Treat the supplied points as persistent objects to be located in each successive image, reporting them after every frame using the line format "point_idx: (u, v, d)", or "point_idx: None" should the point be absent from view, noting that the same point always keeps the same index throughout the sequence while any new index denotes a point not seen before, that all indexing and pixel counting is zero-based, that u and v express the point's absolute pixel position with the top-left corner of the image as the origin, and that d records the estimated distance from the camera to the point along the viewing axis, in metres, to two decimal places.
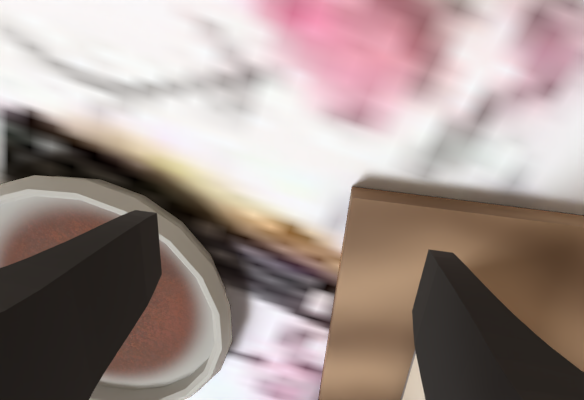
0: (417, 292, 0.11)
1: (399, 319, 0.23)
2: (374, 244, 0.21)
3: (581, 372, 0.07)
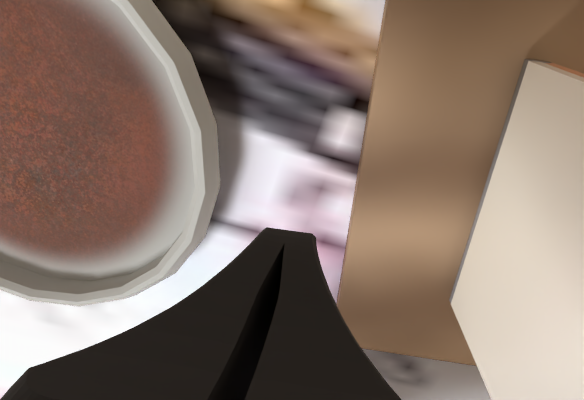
0: None
1: (464, 135, 0.16)
2: None
3: (349, 337, 0.07)
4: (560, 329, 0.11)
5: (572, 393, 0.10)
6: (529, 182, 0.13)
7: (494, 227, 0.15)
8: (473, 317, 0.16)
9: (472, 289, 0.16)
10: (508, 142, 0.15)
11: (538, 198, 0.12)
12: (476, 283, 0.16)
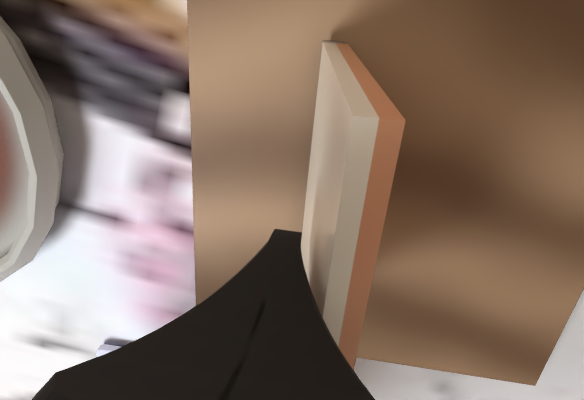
0: None
1: (284, 119, 0.16)
2: None
3: (325, 333, 0.07)
4: None
5: None
6: (315, 164, 0.13)
7: (307, 211, 0.15)
8: None
9: None
10: (314, 125, 0.14)
11: (315, 179, 0.12)
12: None
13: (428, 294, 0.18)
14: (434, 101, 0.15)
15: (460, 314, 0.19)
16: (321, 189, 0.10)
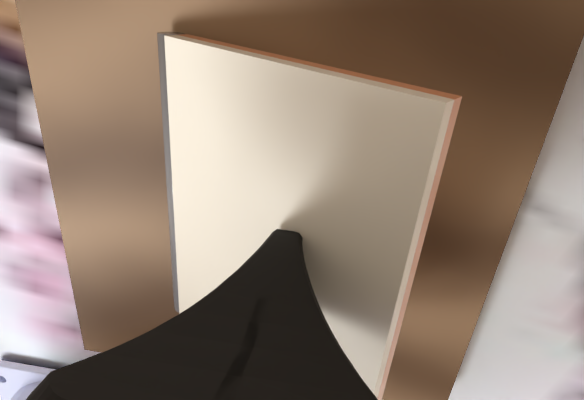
0: None
1: (138, 120, 0.14)
2: None
3: (328, 333, 0.07)
4: (318, 298, 0.11)
5: (351, 347, 0.11)
6: (224, 168, 0.12)
7: (200, 223, 0.14)
8: None
9: (200, 291, 0.15)
10: (177, 130, 0.13)
11: (242, 182, 0.12)
12: (203, 284, 0.15)
13: None
14: None
15: None
16: (297, 185, 0.10)
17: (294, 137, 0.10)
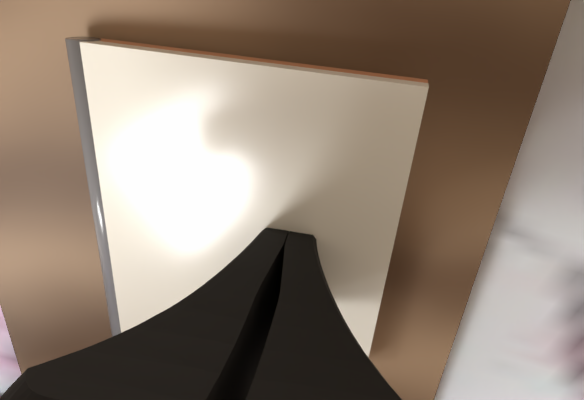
0: None
1: (58, 137, 0.12)
2: None
3: (350, 337, 0.07)
4: None
5: None
6: (179, 181, 0.11)
7: (148, 244, 0.12)
8: None
9: None
10: (108, 148, 0.11)
11: (205, 192, 0.11)
12: (156, 309, 0.13)
13: None
14: None
15: None
16: (276, 183, 0.10)
17: (269, 136, 0.10)
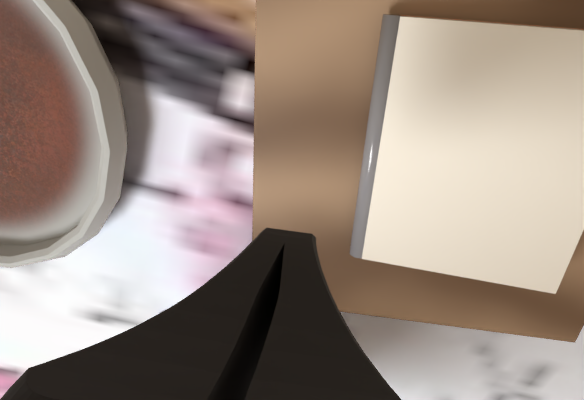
0: None
1: (343, 91, 0.17)
2: None
3: (349, 337, 0.07)
4: (537, 191, 0.16)
5: (562, 217, 0.16)
6: (452, 115, 0.16)
7: (411, 168, 0.17)
8: (412, 246, 0.18)
9: (397, 228, 0.18)
10: (399, 94, 0.16)
11: (472, 123, 0.16)
12: (402, 221, 0.18)
13: None
14: None
15: None
16: (532, 113, 0.15)
17: (536, 78, 0.14)
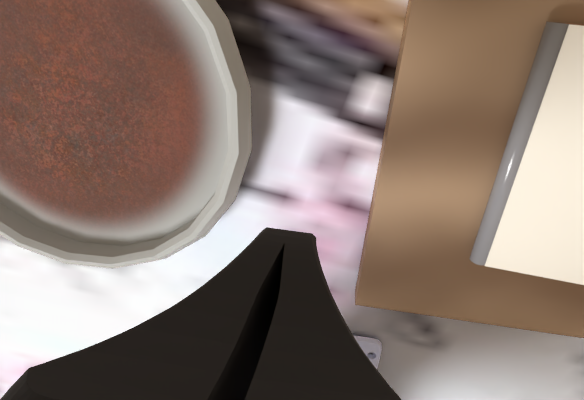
0: None
1: (487, 97, 0.17)
2: None
3: (349, 337, 0.07)
4: None
5: None
6: None
7: (554, 176, 0.17)
8: (541, 254, 0.18)
9: (529, 236, 0.18)
10: (554, 102, 0.16)
11: None
12: (536, 229, 0.18)
13: None
14: None
15: None
16: None
17: None
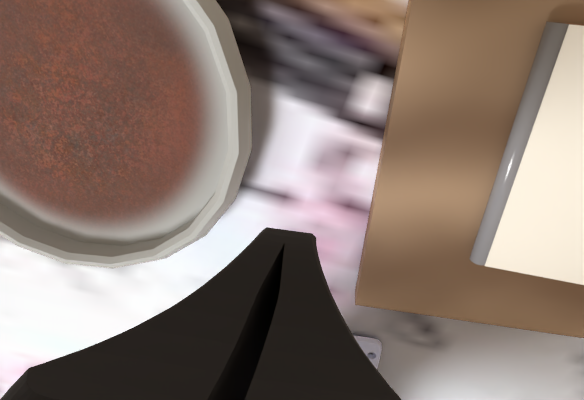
0: None
1: (487, 97, 0.17)
2: None
3: (349, 337, 0.07)
4: None
5: None
6: None
7: (554, 176, 0.17)
8: (541, 254, 0.18)
9: (529, 236, 0.18)
10: (554, 102, 0.16)
11: None
12: (536, 229, 0.18)
13: None
14: None
15: None
16: None
17: None
